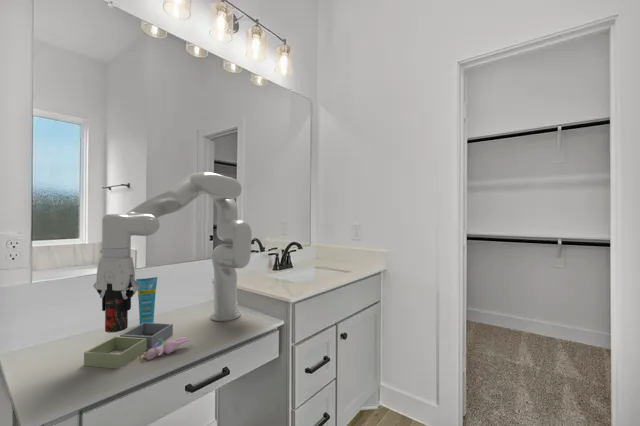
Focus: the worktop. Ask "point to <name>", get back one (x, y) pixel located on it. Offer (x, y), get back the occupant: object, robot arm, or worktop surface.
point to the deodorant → (114, 311)
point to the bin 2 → (150, 332)
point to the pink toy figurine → (167, 348)
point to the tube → (146, 299)
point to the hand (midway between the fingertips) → (116, 309)
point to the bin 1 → (103, 358)
